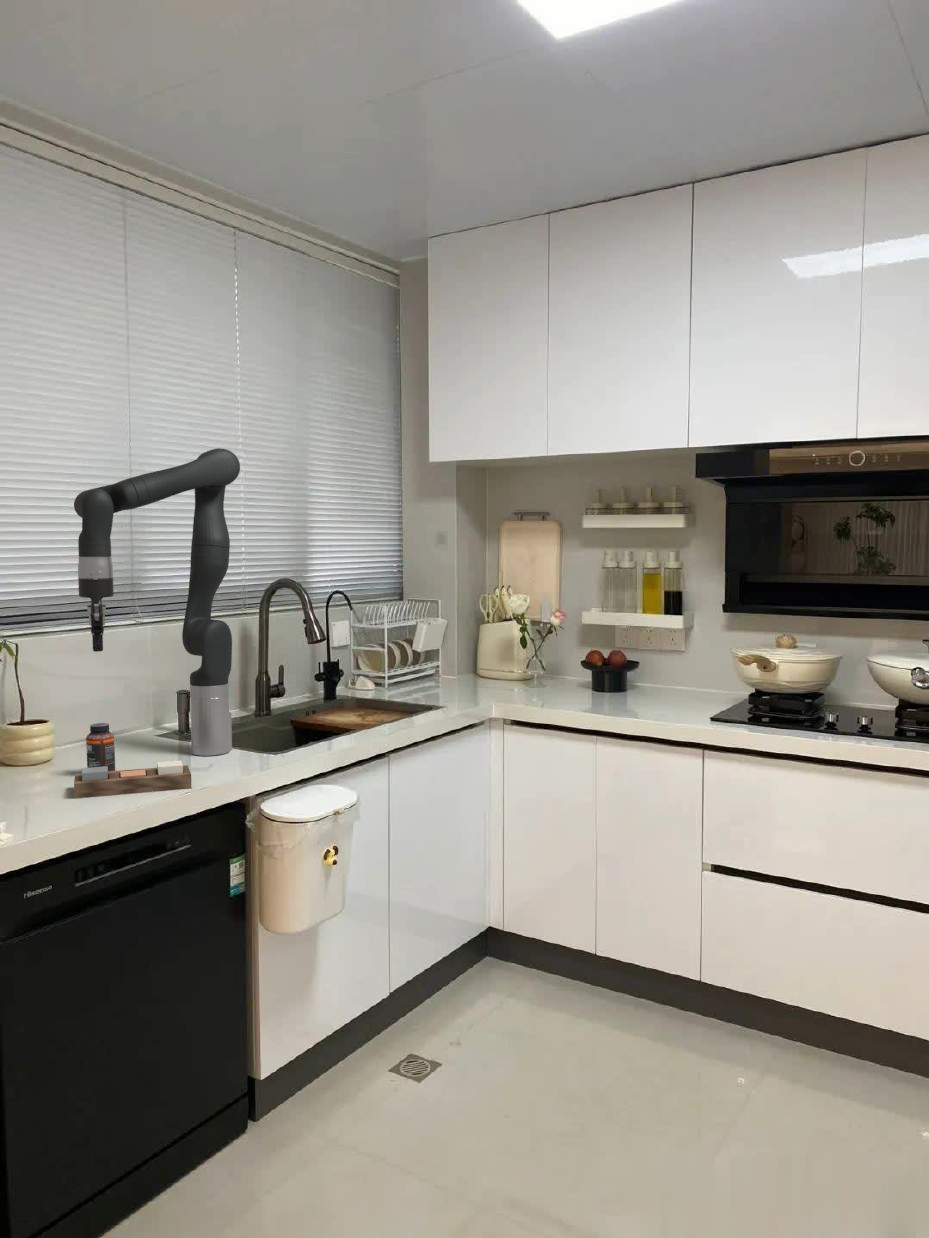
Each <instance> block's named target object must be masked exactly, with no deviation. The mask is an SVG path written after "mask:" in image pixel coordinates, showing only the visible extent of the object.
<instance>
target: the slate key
mask: <svg viewBox="0 0 929 1238" xmlns="http://www.w3.org/2000/svg"><path fill="white" fill-rule="evenodd" d="M81 774H82V781H93V780H105V779H108V766H104V767H91V768H87V767H82V768H81Z"/></svg>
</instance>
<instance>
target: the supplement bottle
mask: <svg viewBox="0 0 929 1238" xmlns="http://www.w3.org/2000/svg"><path fill="white" fill-rule="evenodd" d="M89 730H90V732H89V734H87V736H86V737H85V742H86V744H85V745H86V766H87V767H86V768H91V767H104V766H108V771H116V753H115V752H116V751H115V735H114V734H113V733H112V732H110V724H109V723H108V722H96V723H92V724H90V725H89Z"/></svg>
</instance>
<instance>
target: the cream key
mask: <svg viewBox="0 0 929 1238" xmlns="http://www.w3.org/2000/svg"><path fill="white" fill-rule="evenodd" d="M183 766H184V765H183V762H182V760H170V761H158V762H156V768H157V773H158V775H166V774H178V773H183Z"/></svg>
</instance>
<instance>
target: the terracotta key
mask: <svg viewBox="0 0 929 1238" xmlns="http://www.w3.org/2000/svg"><path fill="white" fill-rule="evenodd" d="M132 770H133V769H132ZM120 771H121V770H120ZM141 776H146V772H145V770H133V771H121V772H120V777H121V778H129V777H141Z"/></svg>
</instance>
